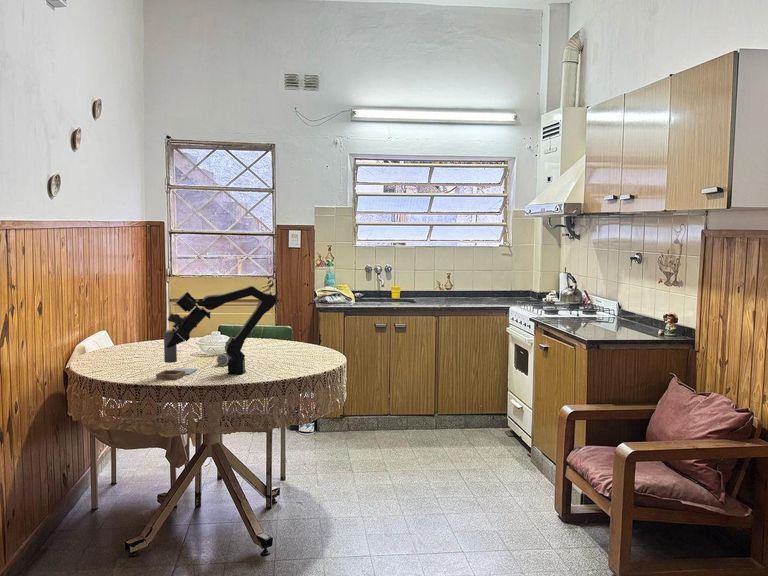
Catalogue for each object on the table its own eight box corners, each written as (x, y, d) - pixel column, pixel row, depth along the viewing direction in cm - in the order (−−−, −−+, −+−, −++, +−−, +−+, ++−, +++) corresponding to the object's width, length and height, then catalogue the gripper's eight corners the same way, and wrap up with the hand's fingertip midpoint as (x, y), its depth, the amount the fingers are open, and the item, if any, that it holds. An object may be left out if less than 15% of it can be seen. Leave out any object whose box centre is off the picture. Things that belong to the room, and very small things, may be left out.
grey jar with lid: (178, 360, 302) (178, 329, 301) (174, 362, 297) (173, 330, 296) (167, 360, 302) (166, 328, 301) (162, 362, 297) (161, 330, 296)
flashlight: (232, 359, 341) (232, 348, 340) (242, 360, 340) (242, 349, 339) (217, 365, 326) (216, 353, 326) (227, 366, 325) (227, 354, 324)
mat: (197, 370, 314) (197, 368, 314) (189, 375, 305) (189, 373, 305) (175, 369, 315) (175, 368, 315) (166, 374, 306) (166, 373, 306)
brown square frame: (185, 375, 304) (185, 370, 304) (177, 379, 295) (177, 375, 295) (165, 374, 305) (164, 370, 305) (156, 379, 296) (156, 374, 296)
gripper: (177, 304, 308) (151, 330, 305) (180, 308, 290) (153, 337, 287) (196, 321, 311) (170, 347, 308) (201, 327, 294) (173, 355, 291)
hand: (166, 346), depth 299 cm, fingers closed on grey jar with lid, 5 cm apart
